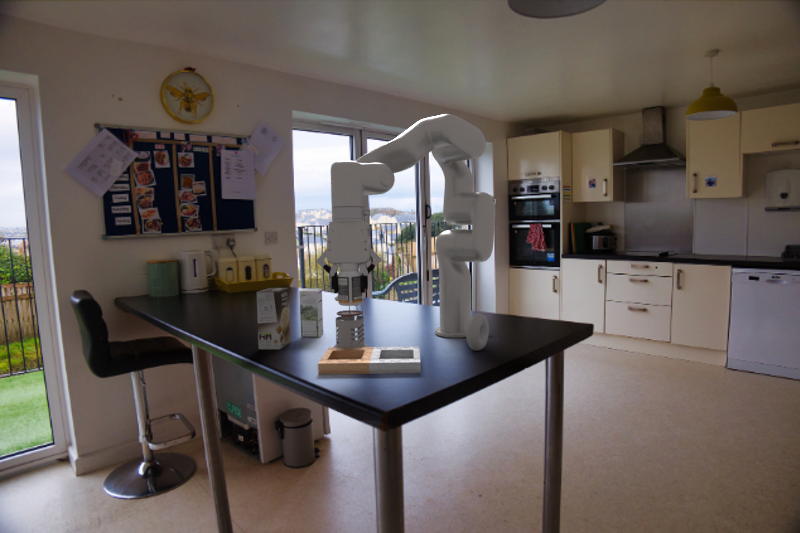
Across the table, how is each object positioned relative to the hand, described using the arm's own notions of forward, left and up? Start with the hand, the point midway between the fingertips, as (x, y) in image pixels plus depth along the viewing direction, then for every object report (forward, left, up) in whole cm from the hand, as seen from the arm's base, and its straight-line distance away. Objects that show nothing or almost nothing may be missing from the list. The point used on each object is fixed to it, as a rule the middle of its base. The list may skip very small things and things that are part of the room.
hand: (349, 291), depth 111 cm
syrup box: (+16, -32, -18) cm, 40 cm away
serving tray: (-5, 0, -18) cm, 18 cm away
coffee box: (+24, -20, -18) cm, 36 cm away
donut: (-32, -12, -18) cm, 38 cm away
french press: (+2, -18, -18) cm, 26 cm away
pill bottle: (0, 0, -3) cm, 3 cm away
